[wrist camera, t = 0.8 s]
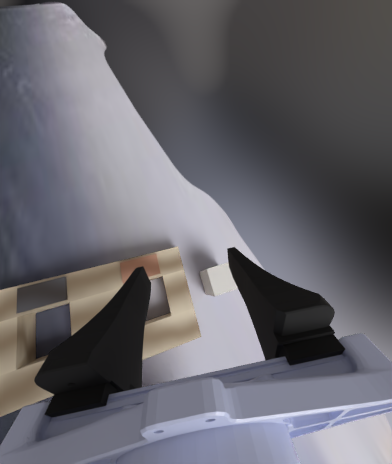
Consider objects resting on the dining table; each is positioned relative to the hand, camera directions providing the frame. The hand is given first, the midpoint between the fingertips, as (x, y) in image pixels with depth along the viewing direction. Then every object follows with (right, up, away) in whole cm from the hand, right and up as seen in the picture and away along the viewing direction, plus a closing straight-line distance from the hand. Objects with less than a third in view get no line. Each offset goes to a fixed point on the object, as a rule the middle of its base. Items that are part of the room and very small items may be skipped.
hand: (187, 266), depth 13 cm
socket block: (-13, -10, +11) cm, 20 cm away
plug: (+4, -6, +16) cm, 17 cm away
